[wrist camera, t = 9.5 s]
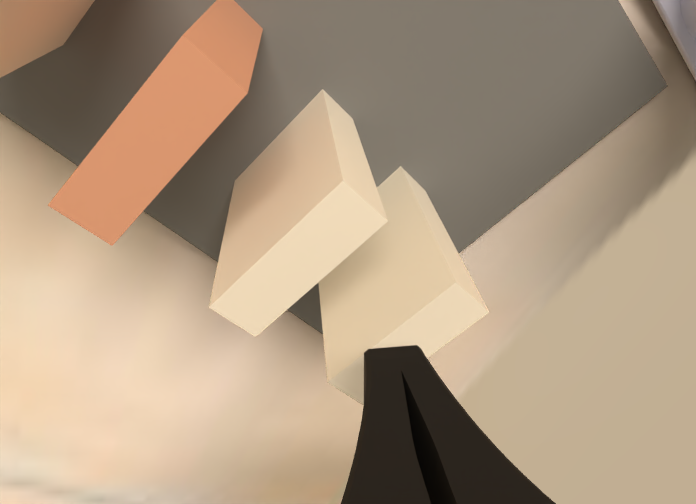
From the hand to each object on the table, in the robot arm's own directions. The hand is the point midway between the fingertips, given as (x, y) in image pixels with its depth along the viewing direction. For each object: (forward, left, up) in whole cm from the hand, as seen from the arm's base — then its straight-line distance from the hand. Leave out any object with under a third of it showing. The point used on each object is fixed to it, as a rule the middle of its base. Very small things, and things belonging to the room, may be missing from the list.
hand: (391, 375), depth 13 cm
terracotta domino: (0, -8, -10) cm, 13 cm away
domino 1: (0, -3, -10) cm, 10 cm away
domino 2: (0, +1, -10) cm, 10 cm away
